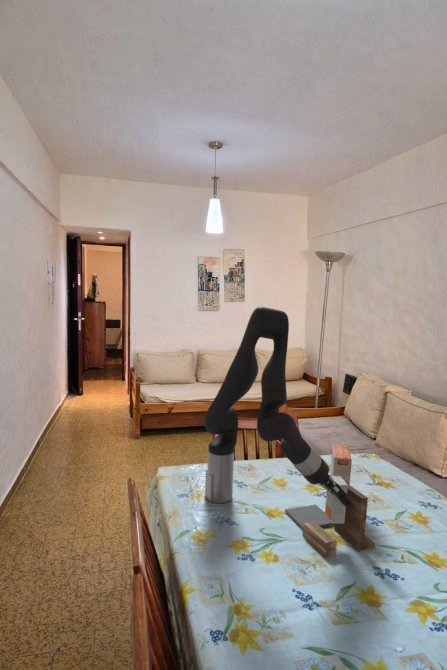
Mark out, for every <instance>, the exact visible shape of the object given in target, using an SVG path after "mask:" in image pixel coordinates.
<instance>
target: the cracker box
mask: <svg viewBox="0 0 447 670" xmlns="http://www.w3.org/2000/svg"><path fill="white" fill-rule="evenodd" d="M331 445H332V446H331V456H330V458H331V459H330V469H329V475H330V476H341V477H342V479H343V480H344V481H345V482H346V483H348V484H349V485H350V486H351V472H352V460H353V459H352V455H351V452H350V448H349V445H347V444H346V445H345V444H337V443H336V444H335V443H332V444H331Z"/></svg>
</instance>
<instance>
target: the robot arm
mask: <svg viewBox="0 0 447 670" xmlns="http://www.w3.org/2000/svg"><path fill="white" fill-rule="evenodd" d="M289 323H290V322H289V316H288V314H287V313H286V312H285V311H283V310H279V309H275V308H270V307H265V306H257V307H256V308H254V310H253V312H252V313H251V315H250V317H249V320H248V323H247V324H246V328H245V331H244V334H243V337H242V340H241V342H240V345H239V347H238V350H237V351H236V354H235V356H234V358H233V360H232V362H231V364H230V366H229V368H228V370H227V373H226V375H225V378H224V380H223V382H222V384H221V386H220V388H219V390H218V392H217V394H216V396H215V398H214V399H213V400H212V403H211V404H210V405H209V407H208V408H207V410H206V413H205V415H204V421H203V422H204V423H203V424H204V429H205V430H206V432H208V433H209V434H211V435H216V437H213V439H212V440H210V442H209V444H208V453H207V454H208V456H207V457H208V458H207V469H206V470H205V481H204V482H205V484H204V485H205V486H204V488H205V489H204V495H205V497H206V499H207V500H208V502H209V503H216V504H224V503H225V504H226V503H228V502H230V501H231V500H233V493H234V492H233V490H234V489H233V488H234V487H233V486H234V468H235V467H234V466H235V465H234V464H235V461H234V460H235V448H236V446H237V442H238V430H239V416H238V411H237V409H236V408H235V407H234V405H235V404H236V403H237V402H238V401H239V400H241V399H242V398H243V397H244V396H246V394H247V393H248V392H249V391H250V390H251V388H252V386H253V385H254V383H255V382H256V379H257V377H258V374H259V366H258V365H259V364H258V360H257V355H256V345H257V344H258V341H259V340H260V338H263V339H268V340H271V341H273V350H272V353H271V357H270V358H269V359H268V361H267V363H266V365H265V367H264V369H263V371H262V373H261V377H260V378H261V380H260V383H261V384H260V385H261V401H260V402H261V403H260V407H259V411H258V416H257V419H256V420H257V421H256V429H257V433H258V435H259V437H260V438H261V440H263V441H265V442H275V441H280V440H281V443H280V450H281V451H280V452H282V454H283V455H284V456H285V457H286V458H287V459H288V460H289V462H290V463H291V464H292V465H293V466H294V468H295V469H296V470H297V471H298V473H300V475H302V477H304V479H305V480H306V481H307V482H308V483H309V484H311V485H319V486H320V487H321V488H322V489H325V491H326V492H327V491H328V492H329V493H330V494H331V495H334V496H335V497H336V498H337V499H338V500H340V501H341V503H342V504H343V505H344V506H345V507H347V506H348V505H349V504H350V503H351V501H350V500H349V499H348V497H347V496H348V495H347V494H346V493H345V492H344V491H343V490H342V488H341V487H340V486H339V484H337V483H336V482H335V481H334V480H333V478H332V477H331V476H330V467H329V464H328V463H327V462H326V461H325V460H324V459H323V458H322V456H321V455H320V454H319V453H318V452H317V451H316V450H315V449H314V448H313V447H312V446H310V444H309V443H308V442H307V441H306V440H305V439H304V437H302V434H301V432H300V429H299V427H298V425H297V423H296V421H295V419H294V418H293V416H292V415H290V414H289V413H287V412H282V411H281V412H278V410H279V409H280V408H281V407H283V406H284V405H285V404H286V403H287V401H288V400H287V399H288V396H287V395H288V394H287V383H286V382H287V381H286V379H287V378H286V368H287V367H286V365H287V353H288V345H289V344H288V343H289V331H290V330H289V328H290V327H289V326H290V325H289ZM334 484H335V485H334ZM330 489H331V491H330Z"/></svg>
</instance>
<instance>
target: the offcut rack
mask: <svg viewBox="0 0 447 670" xmlns="http://www.w3.org/2000/svg"><path fill="white" fill-rule="evenodd" d="M346 484H347V485H348V488H347V495H348V496H347V497H348V499H349V500H350V501H351V503H350V504H349V505H348V506H347V507H346V511H345V522H344V524H340V523H335V524H334V526H333V529H334V531H335V532H337V534H338V535H340V536H341V538H343V539H344V540H345V541H346V542H347V543H349V545H351V546H352V547H353V548H354V549H355V550H356V551H357V552H360V551H365V550H370V549H375V548H376V542H375V541H374V540H373V539H371V538H370V537H369V536H368V535H367V534H366V527H367V526H366V525H367V513H368V501H369V500H368V499H369V498H368V496H366V495H365V494H363V493H362V492H361V491H359V490H357V489H356V488H355V487H354V486H352V485H351V484H350V485H349V484H348V483H346ZM301 535H302V537H304V538H305V540H307V542H308V543H309V544H310V545H311V546H312V547H313V548H314V549H315V550H316V551H317V552H318V553H319V554H320V555H321V556H322V558H324V559H325V558H331V557H335V556H337V553H338V548H336V547H337V539H336V538H335V537H333V536H332V535H331V534H329V533H328V532H327V531H326V530H325V529H324V528H321V527H320V526H319V525H318V524H316V523H315V522H314V521H312V522H307V523H304V528H303V530H302V534H301Z"/></svg>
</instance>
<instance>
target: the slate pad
mask: <svg viewBox="0 0 447 670" xmlns="http://www.w3.org/2000/svg"><path fill="white" fill-rule="evenodd" d="M284 513H286V515H287V516H289V518H290V519H291V520H292V521H293V522H294V524H295V525H297V526H298V527H299V528H300V529H301V530H302V531H303V528H304V523H307V522H312V521H314V522H315V523H316V524H318V525H319V526H320V527H321V528H322V529H324V528H329V527H332V526H333V527H334V524H335V523H331V522H330V520H329V518H328V517H327V515H326V513H325V511H324V510H322V509H321V508H320V506H318V505H317V504H313V505H312V504H311V505H305V506H298V507H293V508H285V510H284Z"/></svg>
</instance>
